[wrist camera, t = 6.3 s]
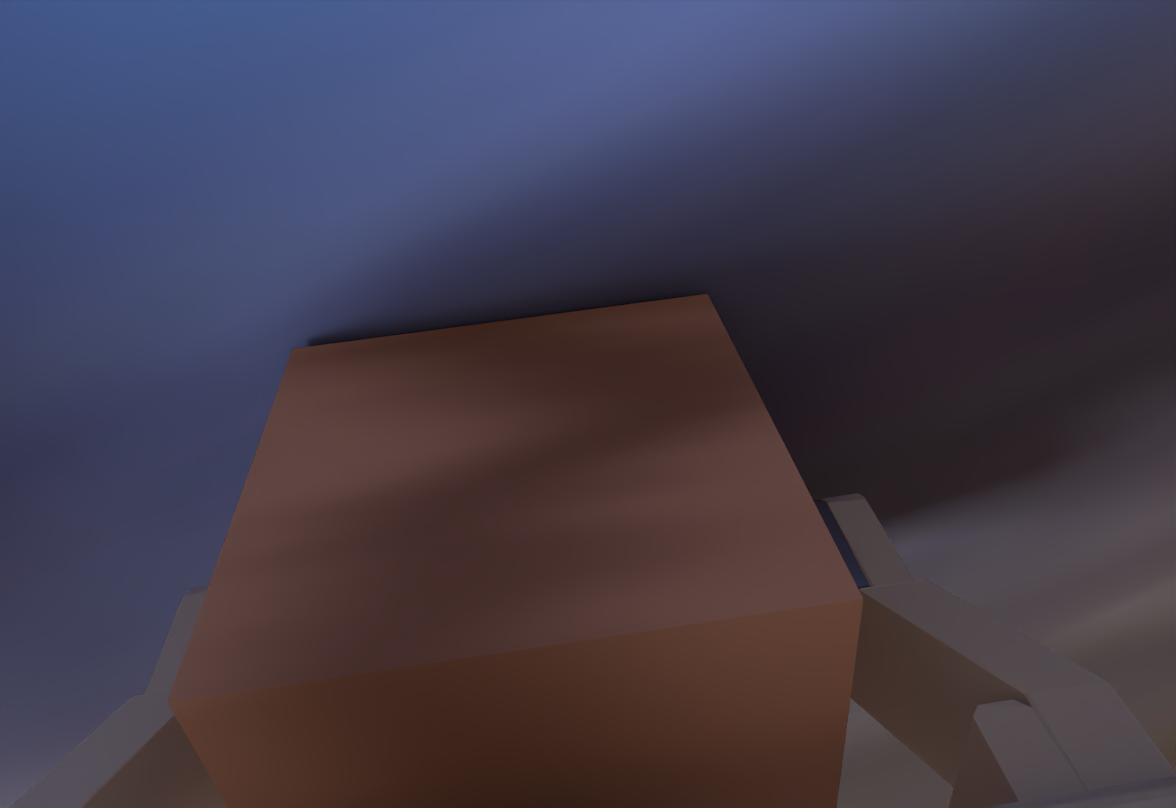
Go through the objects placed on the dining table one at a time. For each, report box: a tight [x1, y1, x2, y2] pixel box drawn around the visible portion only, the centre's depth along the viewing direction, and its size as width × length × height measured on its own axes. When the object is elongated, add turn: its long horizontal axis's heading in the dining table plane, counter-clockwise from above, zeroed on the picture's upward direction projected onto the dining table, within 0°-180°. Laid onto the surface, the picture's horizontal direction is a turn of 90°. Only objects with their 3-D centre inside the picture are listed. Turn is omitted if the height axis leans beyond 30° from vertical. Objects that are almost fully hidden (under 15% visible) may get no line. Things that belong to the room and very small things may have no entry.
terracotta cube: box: [167, 294, 863, 808], centre depth 11 cm, size 6×6×6 cm
